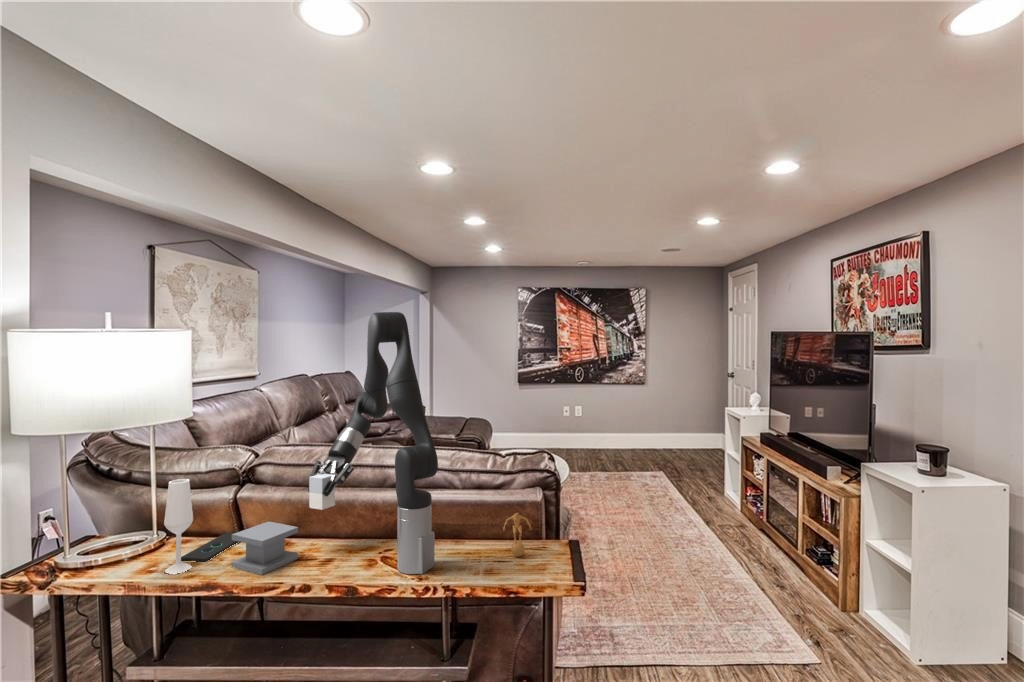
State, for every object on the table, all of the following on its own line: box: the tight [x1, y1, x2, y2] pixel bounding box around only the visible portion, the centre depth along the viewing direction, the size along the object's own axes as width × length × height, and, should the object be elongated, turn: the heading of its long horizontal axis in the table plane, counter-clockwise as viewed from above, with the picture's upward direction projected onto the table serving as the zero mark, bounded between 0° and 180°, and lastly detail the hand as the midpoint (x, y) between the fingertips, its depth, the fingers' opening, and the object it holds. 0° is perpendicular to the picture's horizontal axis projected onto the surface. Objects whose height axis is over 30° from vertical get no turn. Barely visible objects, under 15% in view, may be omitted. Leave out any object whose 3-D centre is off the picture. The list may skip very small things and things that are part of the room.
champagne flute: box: [163, 478, 194, 575], centre depth 142 cm, size 7×7×24 cm
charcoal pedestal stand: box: [231, 521, 299, 576], centre depth 146 cm, size 12×12×9 cm
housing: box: [308, 473, 336, 511], centre depth 153 cm, size 5×5×9 cm
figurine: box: [502, 512, 532, 558], centre depth 151 cm, size 8×6×12 cm
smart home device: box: [181, 532, 239, 563], centre depth 156 cm, size 8×2×20 cm
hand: (317, 493), depth 151 cm, fingers closed on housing, 5 cm apart
